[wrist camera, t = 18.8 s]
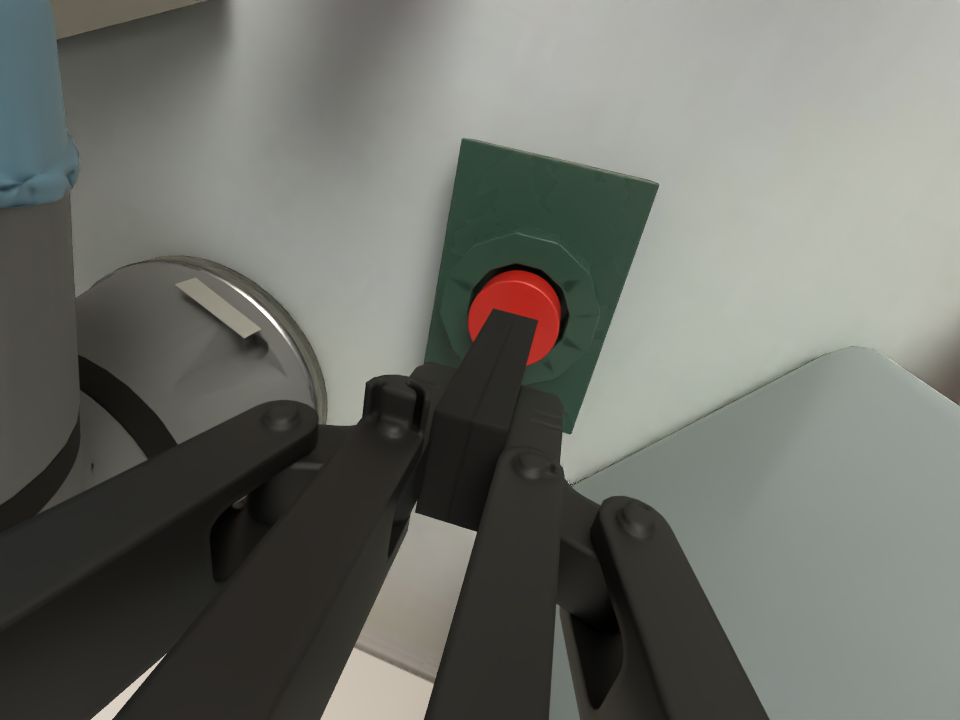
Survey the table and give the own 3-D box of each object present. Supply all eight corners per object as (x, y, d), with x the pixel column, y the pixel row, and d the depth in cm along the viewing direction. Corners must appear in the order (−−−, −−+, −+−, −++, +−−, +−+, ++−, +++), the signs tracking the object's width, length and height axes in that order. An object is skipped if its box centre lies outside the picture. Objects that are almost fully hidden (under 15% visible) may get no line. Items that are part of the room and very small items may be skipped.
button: (469, 339, 21) (459, 354, 19) (486, 260, 19) (477, 269, 17) (548, 360, 20) (545, 378, 19) (572, 282, 19) (570, 294, 17)
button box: (431, 372, 26) (406, 408, 22) (473, 138, 21) (449, 136, 17) (571, 412, 25) (569, 456, 22) (652, 180, 20) (667, 187, 16)
